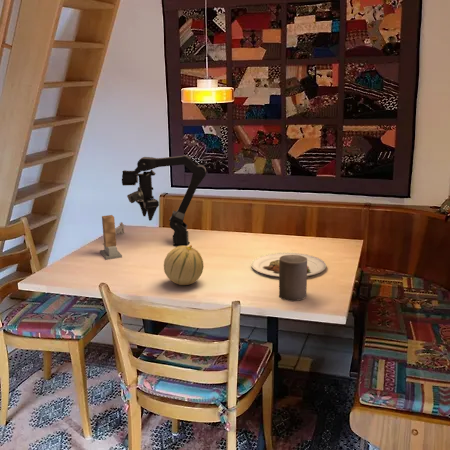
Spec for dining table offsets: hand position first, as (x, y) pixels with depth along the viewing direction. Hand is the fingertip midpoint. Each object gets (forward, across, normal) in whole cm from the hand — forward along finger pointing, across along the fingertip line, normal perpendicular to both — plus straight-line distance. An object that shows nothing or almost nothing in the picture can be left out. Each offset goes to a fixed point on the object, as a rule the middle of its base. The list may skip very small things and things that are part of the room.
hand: (147, 218), depth 251 cm
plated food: (+14, +58, +41) cm, 72 cm away
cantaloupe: (+13, +56, -3) cm, 57 cm away
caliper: (+14, -19, -12) cm, 26 cm away
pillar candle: (+13, +85, +26) cm, 90 cm away
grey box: (+13, +6, -19) cm, 24 cm away
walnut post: (+8, +6, -20) cm, 22 cm away
